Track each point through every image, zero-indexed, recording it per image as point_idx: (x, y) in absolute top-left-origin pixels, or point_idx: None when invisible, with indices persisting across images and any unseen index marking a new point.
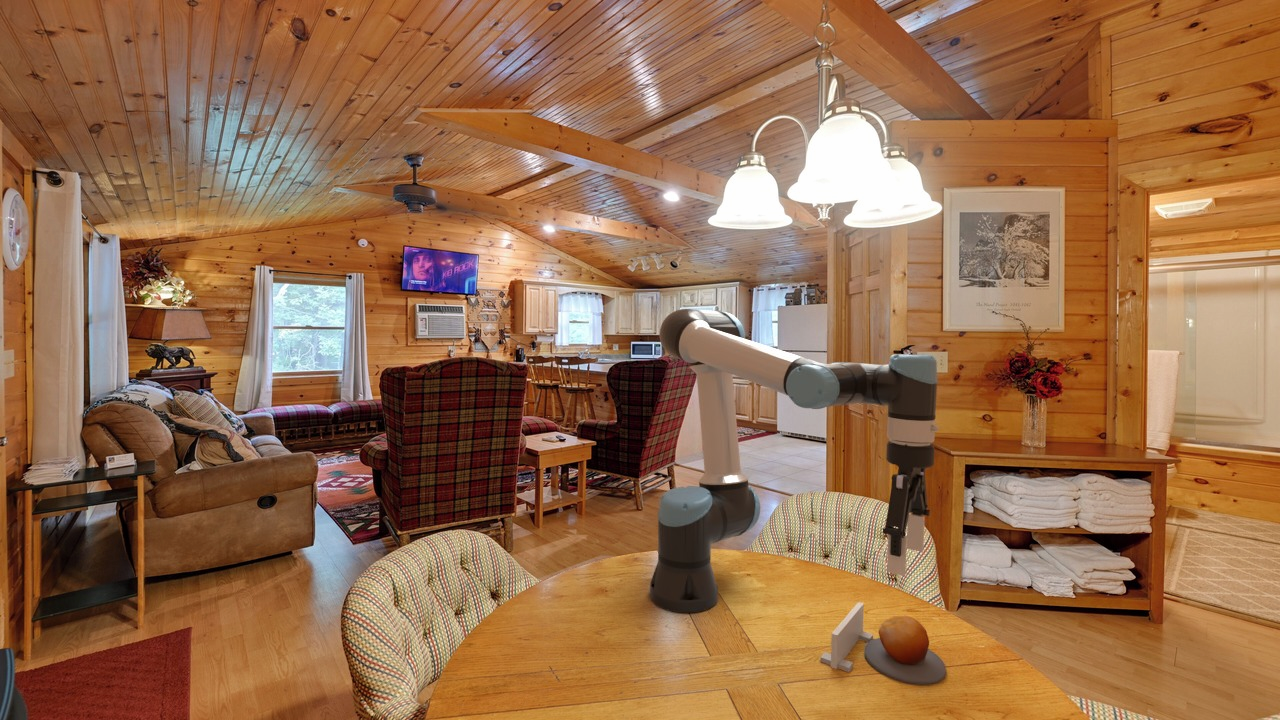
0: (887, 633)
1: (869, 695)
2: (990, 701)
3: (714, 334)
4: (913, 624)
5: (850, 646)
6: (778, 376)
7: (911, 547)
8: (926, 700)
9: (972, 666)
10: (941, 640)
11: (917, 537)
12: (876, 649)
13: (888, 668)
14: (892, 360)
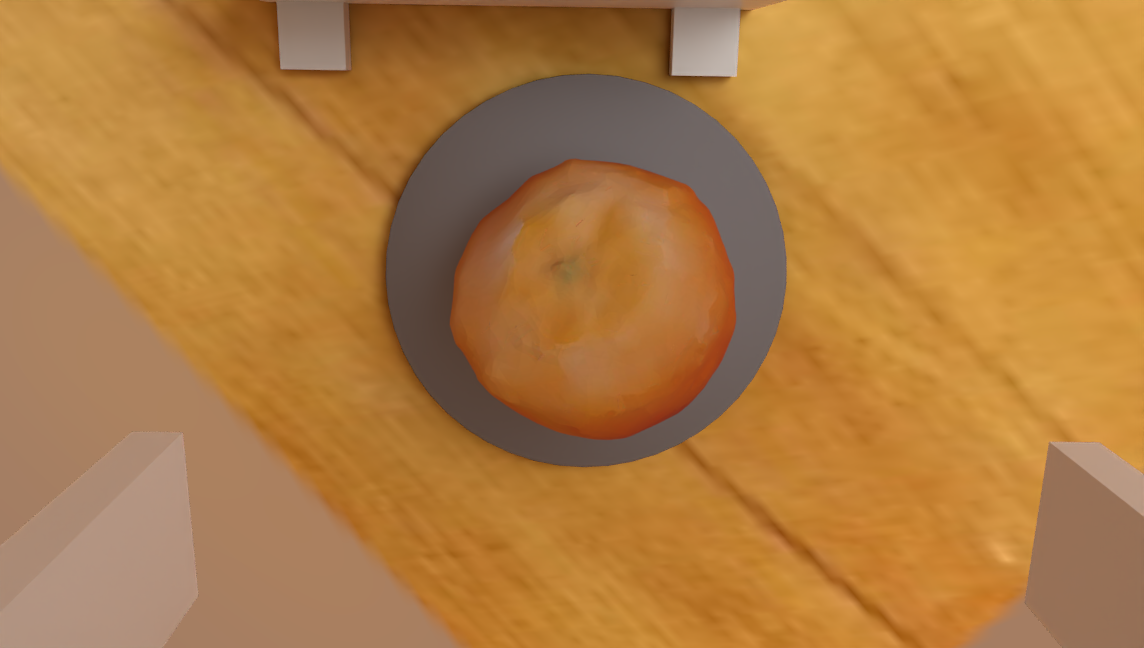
0: (498, 236)
1: (172, 209)
2: (510, 629)
3: None
4: (572, 390)
5: (508, 4)
6: None
7: (1054, 502)
8: (325, 423)
9: (763, 542)
10: (945, 389)
11: (1122, 642)
12: (574, 139)
13: (422, 240)
14: None
